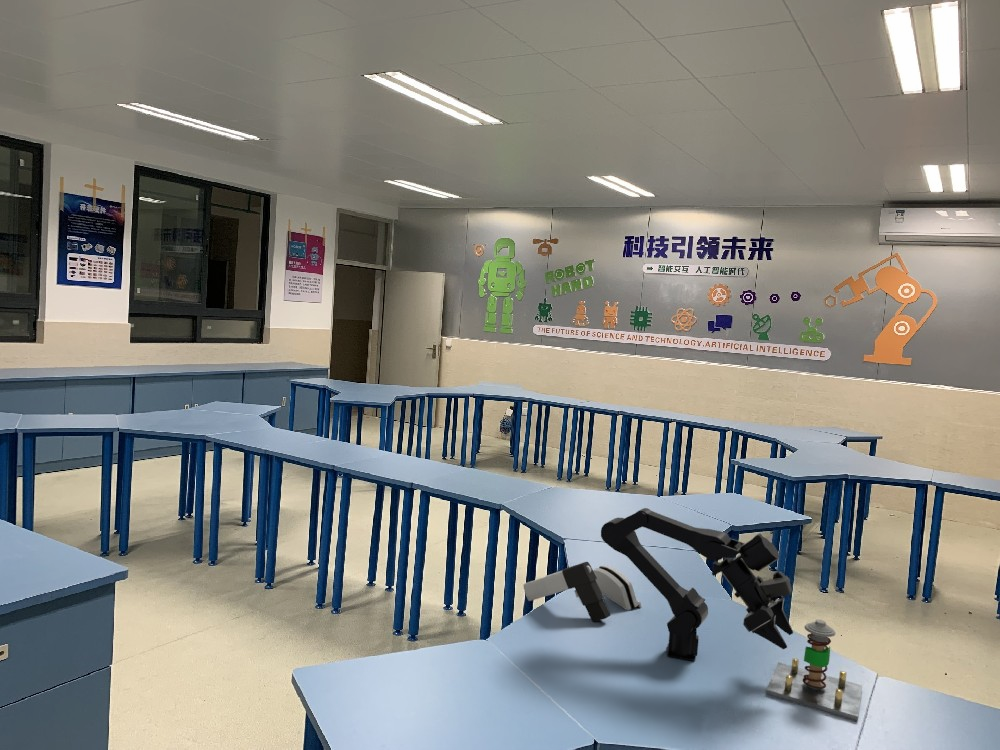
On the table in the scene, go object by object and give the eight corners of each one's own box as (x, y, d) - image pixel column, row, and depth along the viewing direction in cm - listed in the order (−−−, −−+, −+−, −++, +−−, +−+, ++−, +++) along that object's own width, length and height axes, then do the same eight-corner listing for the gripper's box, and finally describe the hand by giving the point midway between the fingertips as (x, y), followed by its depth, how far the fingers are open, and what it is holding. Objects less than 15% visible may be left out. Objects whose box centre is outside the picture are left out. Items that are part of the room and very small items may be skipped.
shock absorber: (821, 680, 165) (828, 616, 164) (834, 695, 159) (841, 628, 158) (793, 678, 165) (800, 614, 164) (805, 693, 159) (812, 626, 158)
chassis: (766, 694, 159) (767, 676, 159) (777, 667, 173) (779, 650, 173) (857, 721, 151) (859, 702, 150) (861, 690, 165) (863, 672, 164)
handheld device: (605, 618, 190) (584, 563, 193) (539, 637, 201) (520, 584, 204) (611, 614, 193) (590, 559, 196) (546, 632, 204) (527, 580, 208)
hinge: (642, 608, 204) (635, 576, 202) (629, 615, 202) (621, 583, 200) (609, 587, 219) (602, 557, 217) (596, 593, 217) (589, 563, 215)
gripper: (764, 574, 157) (814, 638, 153) (778, 553, 174) (823, 610, 169) (723, 600, 162) (770, 662, 157) (741, 577, 178) (783, 633, 174)
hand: (788, 640), depth 164 cm, fingers open, 9 cm apart
